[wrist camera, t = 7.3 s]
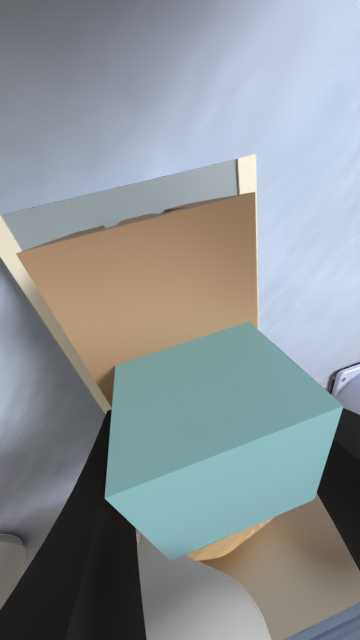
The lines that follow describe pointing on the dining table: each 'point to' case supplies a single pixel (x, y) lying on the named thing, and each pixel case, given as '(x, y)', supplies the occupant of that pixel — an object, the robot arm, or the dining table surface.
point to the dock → (109, 209)
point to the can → (10, 564)
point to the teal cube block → (215, 438)
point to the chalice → (194, 600)
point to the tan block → (150, 281)
